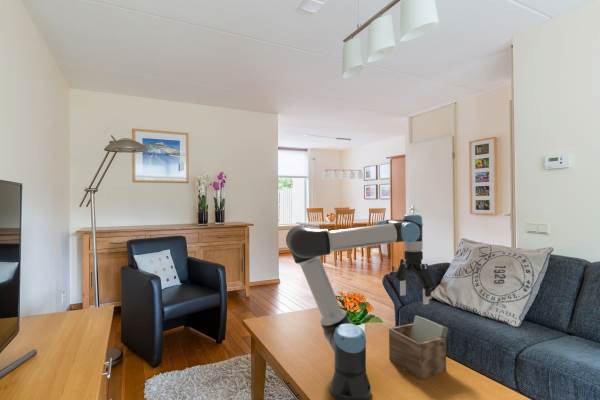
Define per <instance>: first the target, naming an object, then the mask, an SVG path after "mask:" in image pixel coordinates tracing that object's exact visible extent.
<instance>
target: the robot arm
mask: <svg viewBox="0 0 600 400" xmlns="http://www.w3.org/2000/svg"><path fill="white" fill-rule="evenodd" d="M423 227H424V225H423V217H422V215H420V214H404V215H403V218H402V219H386V218H385V219H380V220H379V221H378V222H377V224H376V225H368V226H360V227H351V228H345V229H335V230H328V229H327V228H321V229H315V228H314V229H313V228H310V227H308V226H306V225H303V224H302V225H301V224H300V225H296V226H293V227H292V228H291V229H290V230H288V232H287V234H286V237H285V243H286V246H287V247H288V249H289V251H290V253H291V256H292V258H293V260H294V263H295V264H297V265H299V266H300V267H301V270H302V272H303V274H304V277H305V279H306V281H307V285H308V287H309V290H310V291H311V294H312V296H313V299H314V301H315V304H316V306H317V308H318V311H319V313H320V316H321V318H320V322H319V323H320V325H321V327H322V330H323V331H322V332H323V335H324V337H325V339H326V340H327V342H328V343H329V345H330V347H331V349H332V350H333V354H334V371H333V374H332V378H331V381H330V387H329V388H330V389H329V390H330V392H329V393H330V394H331V396H332V397H333V398H334V399H335V400H369V399H370V398H371V396H372V386H371V383H370V379H369V378H368V374H367V348H366V347H367V339H366V333H365V331H364V329H363V328H362V327H360V326H358V325H356V324H354V323H352V322H351V320H350V318H349V314H348V313H347V311H346V309H343V308H341V306H340V304H339V302H338V299H337V296H336V294H335V291H334V289H333V287H332V284H331V282H330V279H329V277H328V274H327V271H326V269H325V268H324V264H323V263H322V260H321V257H324V256H327V255H328V256H329V255H331V253H332V252H337V251H344V250H351V249H358V248H364V247H373V246H379V245H386V244H393V243H395V244H396V243H403V249H404V251H403V252H404V254H403V255H404V258H403V259H402V258H401V259H400V261H399V262H400V263H399V266H398V269H397V271H396V274H395V278H396V279H398V282H399V283H398V286H399V296H400V297H402V296H407V281H406V278H407V276H408V275H409V274H410V272H412V273H414V274H415V275H417V277H418V279H419V280H420V282H421V284H422V286H423V288H422V305H429V304H430V297H431V289H434V288H435V284H434V281H433V278H432V276H431V273H430V271H429V264H428V263H423V262H422V260H424V258H423V257H424V255H423V254H424V252H423V251H422V250H423V248H424V247H423V245H424V244H423Z"/></svg>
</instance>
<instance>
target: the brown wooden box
mask: <svg viewBox="0 0 600 400" xmlns="http://www.w3.org/2000/svg"><path fill="white" fill-rule="evenodd" d="M412 326H413V322H412V323H409V324H404V325H399V326H395V327H394V326H393V327H390V328H388V347H389V348H388V349H389V351H388V354H389V355H388V356H389V357H388V359H389V360H390V361H391V362H392V363H394V364H395V365H397V366H398V367H400V368H401V369H402V370H404V371H405V372H407V373H409V374H411V376H413V377H414V378H416V379H418V380H419V381H420V380H424V379H426V378H429V377H433V376H435V375H439V374H442V373H444V372H447V341H446V340H447V337H446V338H445V337H441V338H437V339H433V340H430V341H426V342H422V343H418V342H416V341H414V340H412V339H410V334H411V330H412Z"/></svg>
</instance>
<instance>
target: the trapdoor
mask: <svg viewBox="0 0 600 400" xmlns="http://www.w3.org/2000/svg"><path fill="white" fill-rule="evenodd" d="M412 323H413V326H412V330H411V334H410V339H412V340H414V341H416V342H418V343H422V342H426V341H430V340H433V339H437V338H441V337H445V338H446V339H447V336H448V331H449V327H446V326H444V325H441V324H439V323H437V322H434V321H433V320H430V319H428V318H425V317H422V316H419V315H414V318H413V322H412Z"/></svg>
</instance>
